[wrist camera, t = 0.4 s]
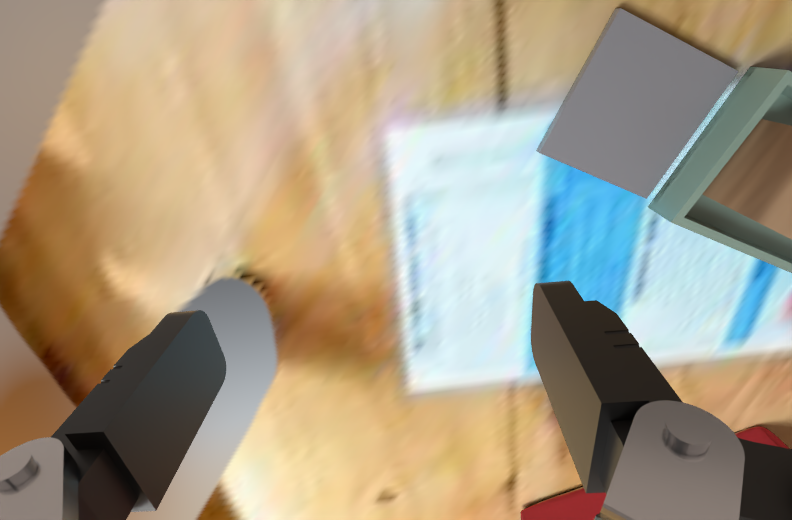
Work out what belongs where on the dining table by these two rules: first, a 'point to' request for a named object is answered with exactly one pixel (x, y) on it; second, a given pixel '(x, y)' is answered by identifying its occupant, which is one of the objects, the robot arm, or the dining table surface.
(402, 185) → the dining table surface
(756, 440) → the storage cube
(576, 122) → the slate pad
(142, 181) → the dining table surface
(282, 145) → the dining table surface
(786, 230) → the label box
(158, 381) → the robot arm
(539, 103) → the dining table surface
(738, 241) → the parts bin
